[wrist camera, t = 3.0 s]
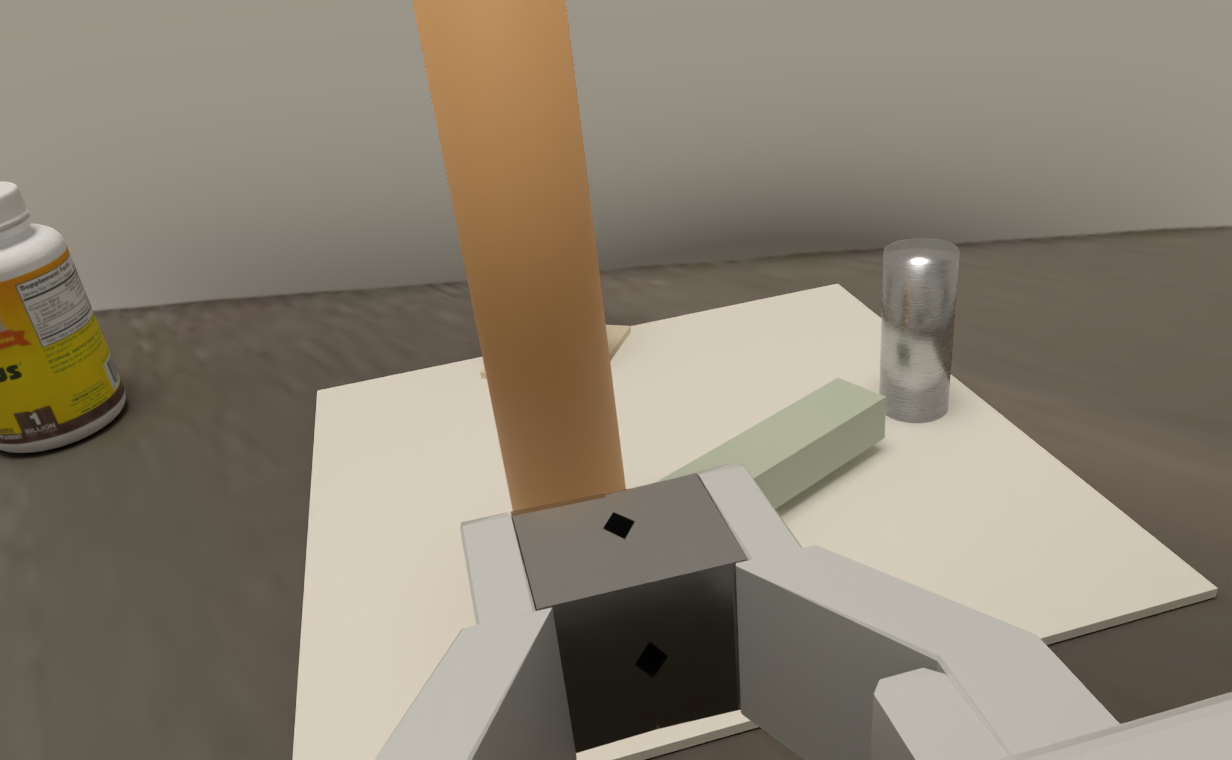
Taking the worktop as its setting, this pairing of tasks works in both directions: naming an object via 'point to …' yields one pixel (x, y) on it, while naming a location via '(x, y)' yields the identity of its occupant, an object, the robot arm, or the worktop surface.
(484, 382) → the base board
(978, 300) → the worktop surface
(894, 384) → the post
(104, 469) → the worktop surface
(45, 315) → the supplement bottle
